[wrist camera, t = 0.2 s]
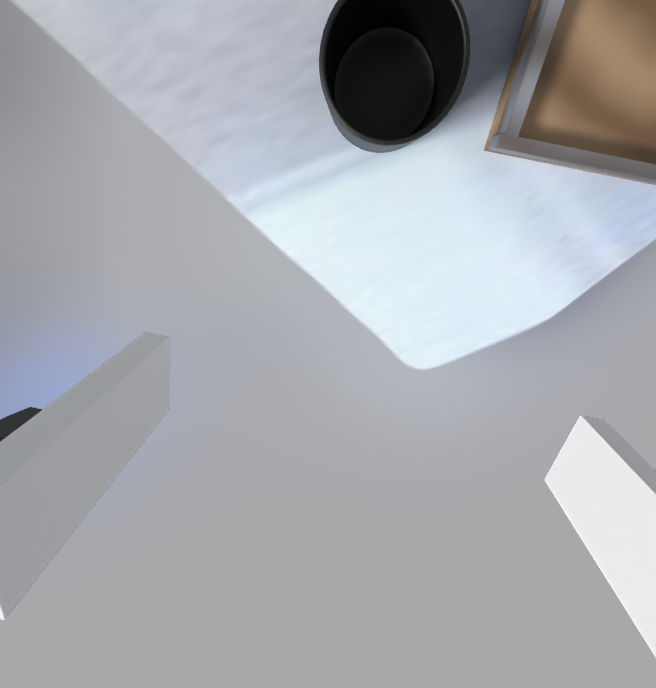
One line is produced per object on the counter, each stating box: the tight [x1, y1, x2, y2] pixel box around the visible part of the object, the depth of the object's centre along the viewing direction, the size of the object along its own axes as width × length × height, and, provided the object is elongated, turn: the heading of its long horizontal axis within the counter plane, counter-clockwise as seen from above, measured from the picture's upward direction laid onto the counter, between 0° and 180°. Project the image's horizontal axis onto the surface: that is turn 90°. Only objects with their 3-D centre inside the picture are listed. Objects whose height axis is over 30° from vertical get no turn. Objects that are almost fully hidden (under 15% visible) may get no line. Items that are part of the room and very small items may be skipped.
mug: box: [319, 0, 470, 153], centre depth 27 cm, size 9×12×9 cm
